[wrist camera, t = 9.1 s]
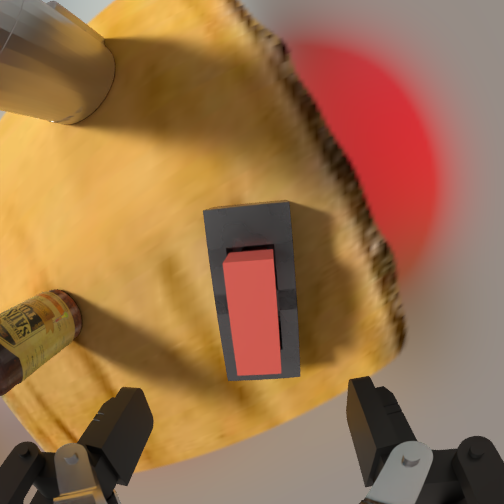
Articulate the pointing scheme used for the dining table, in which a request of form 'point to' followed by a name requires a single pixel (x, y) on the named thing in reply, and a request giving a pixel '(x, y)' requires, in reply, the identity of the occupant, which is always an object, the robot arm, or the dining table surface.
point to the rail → (280, 240)
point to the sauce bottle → (35, 334)
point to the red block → (253, 310)
